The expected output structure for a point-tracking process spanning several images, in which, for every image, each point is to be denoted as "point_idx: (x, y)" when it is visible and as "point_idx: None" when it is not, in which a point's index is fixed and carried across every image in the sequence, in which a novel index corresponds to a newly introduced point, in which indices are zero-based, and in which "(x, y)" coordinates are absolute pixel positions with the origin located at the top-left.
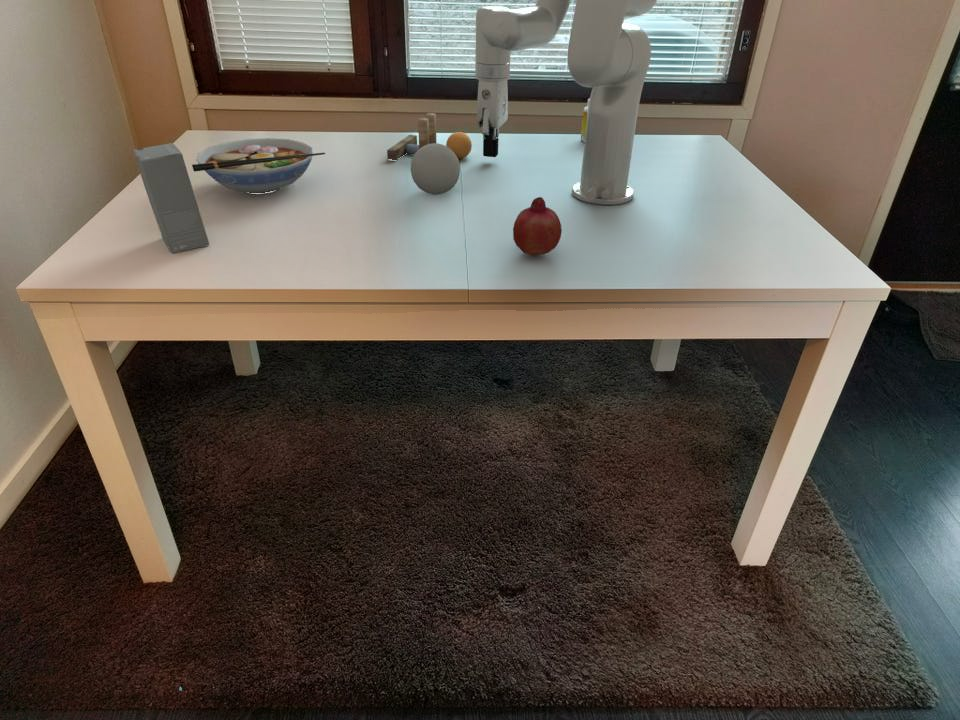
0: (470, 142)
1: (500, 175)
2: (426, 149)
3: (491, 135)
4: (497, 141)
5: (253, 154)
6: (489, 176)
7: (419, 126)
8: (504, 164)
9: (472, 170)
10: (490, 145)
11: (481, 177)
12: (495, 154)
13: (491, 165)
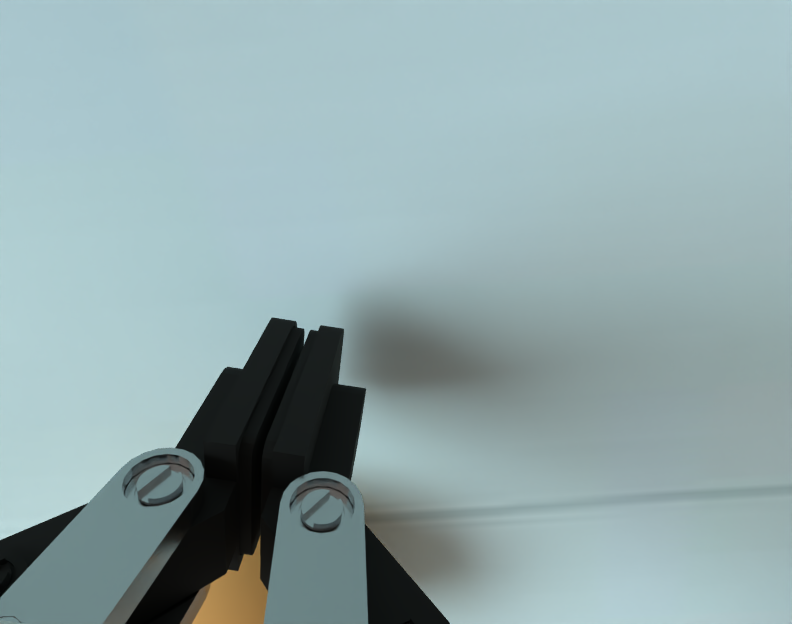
0: (254, 596)
1: (716, 223)
2: None
3: (409, 592)
4: (251, 422)
5: None
6: (733, 316)
7: None
8: (351, 214)
9: (558, 442)
10: (352, 463)
11: (751, 373)
12: (340, 346)
13: (407, 324)
